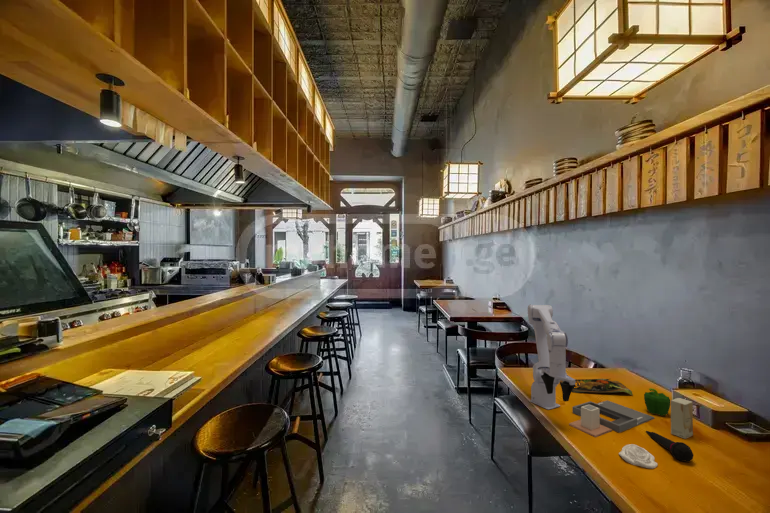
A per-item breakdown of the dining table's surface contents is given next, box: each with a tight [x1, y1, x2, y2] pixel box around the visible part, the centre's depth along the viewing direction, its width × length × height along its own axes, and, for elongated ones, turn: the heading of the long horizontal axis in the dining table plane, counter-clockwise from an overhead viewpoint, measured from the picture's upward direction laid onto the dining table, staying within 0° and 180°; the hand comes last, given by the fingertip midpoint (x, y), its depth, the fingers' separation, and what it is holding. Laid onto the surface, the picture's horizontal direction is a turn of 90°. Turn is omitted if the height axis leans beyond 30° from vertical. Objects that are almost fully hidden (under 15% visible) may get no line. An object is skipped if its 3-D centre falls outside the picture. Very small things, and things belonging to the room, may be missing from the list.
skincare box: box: [670, 397, 694, 440], centre depth 121 cm, size 6×4×12 cm
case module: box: [580, 405, 601, 430], centre depth 126 cm, size 4×5×7 cm
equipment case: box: [571, 399, 655, 434], centre depth 135 cm, size 18×25×2 cm
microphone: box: [645, 430, 694, 463], centre depth 113 cm, size 6×6×20 cm
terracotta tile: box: [568, 419, 613, 438], centre depth 126 cm, size 10×10×1 cm
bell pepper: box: [643, 387, 671, 417], centre depth 138 cm, size 8×8×10 cm
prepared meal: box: [559, 378, 634, 396], centre depth 166 cm, size 28×4×18 cm
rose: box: [618, 443, 658, 470], centre depth 106 cm, size 10×4×10 cm
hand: (557, 397), depth 131 cm, fingers open, 7 cm apart
